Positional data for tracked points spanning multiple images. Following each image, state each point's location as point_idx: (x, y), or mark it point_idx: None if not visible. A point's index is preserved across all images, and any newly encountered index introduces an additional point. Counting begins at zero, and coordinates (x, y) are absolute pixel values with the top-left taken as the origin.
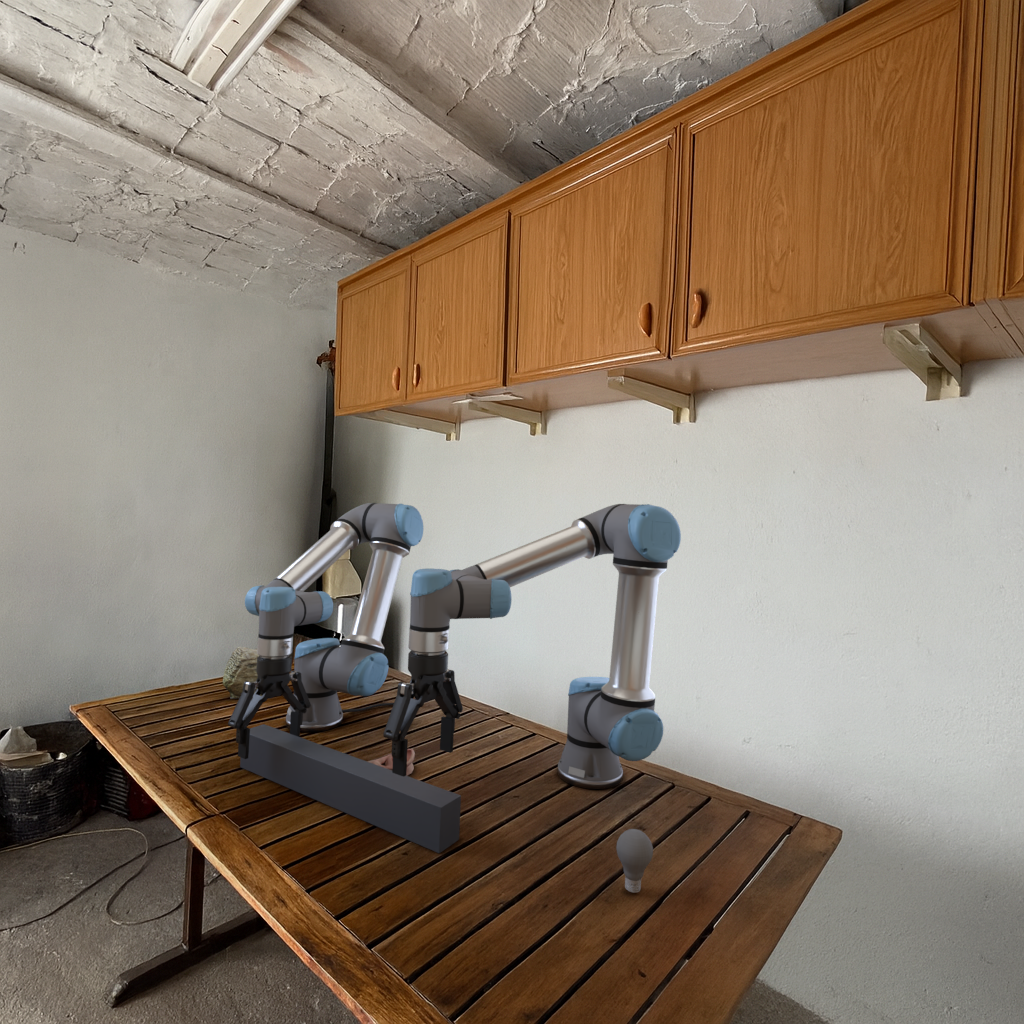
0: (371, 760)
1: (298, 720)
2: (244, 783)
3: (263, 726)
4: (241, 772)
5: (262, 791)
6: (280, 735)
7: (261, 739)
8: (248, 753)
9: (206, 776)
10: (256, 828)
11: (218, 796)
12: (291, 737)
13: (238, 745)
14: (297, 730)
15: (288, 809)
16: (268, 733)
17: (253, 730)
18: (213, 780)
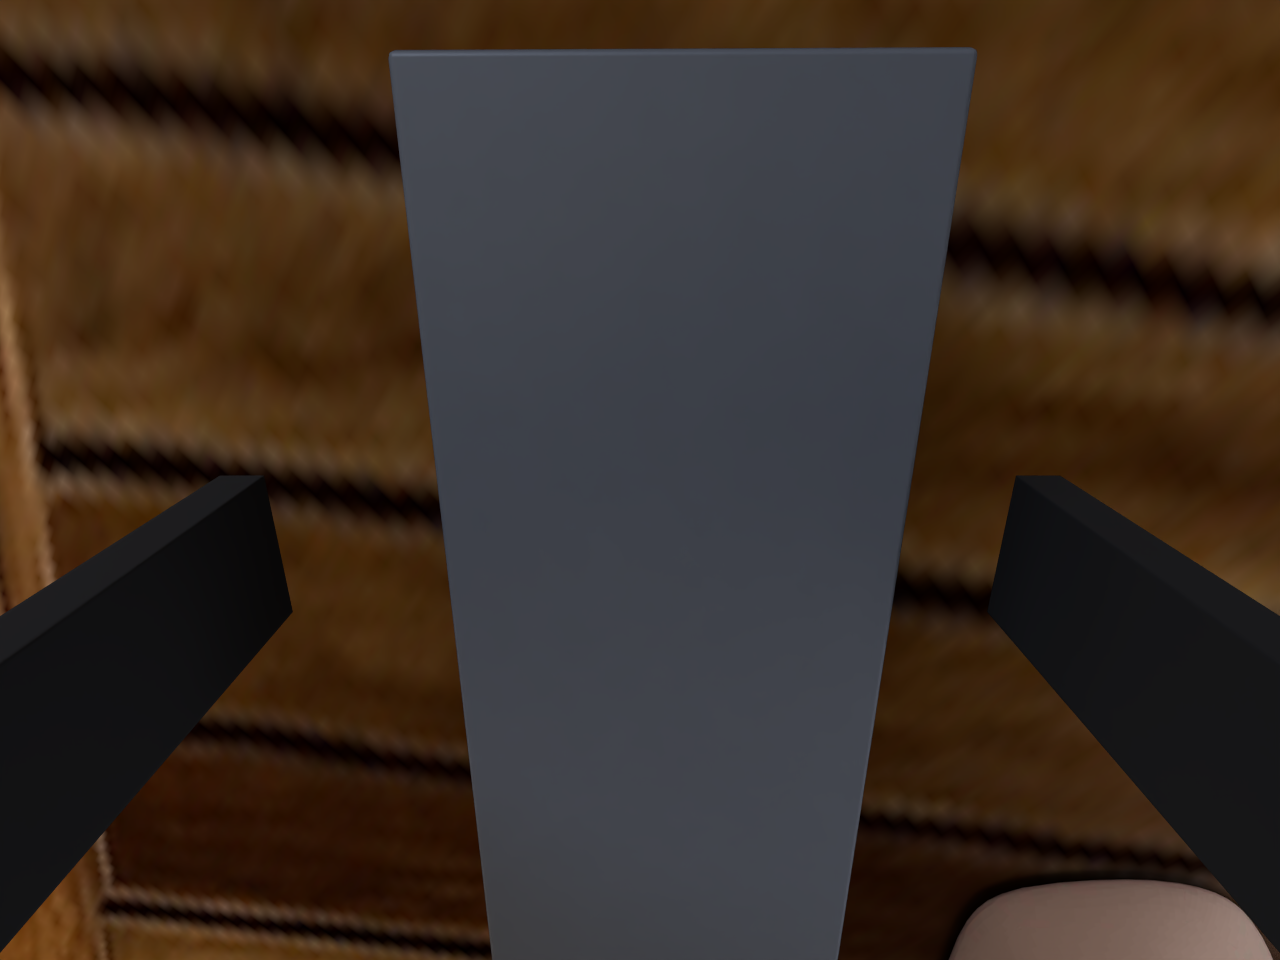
0: (1168, 956)
1: (1199, 841)
2: (381, 475)
3: (857, 196)
4: None
5: (412, 674)
6: (725, 755)
7: (458, 657)
8: (263, 644)
9: (176, 53)
10: (175, 948)
11: (132, 512)
12: (765, 895)
13: (126, 540)
14: (1074, 707)
15: (402, 928)
16: (666, 569)
17: (581, 235)
18: (200, 206)
